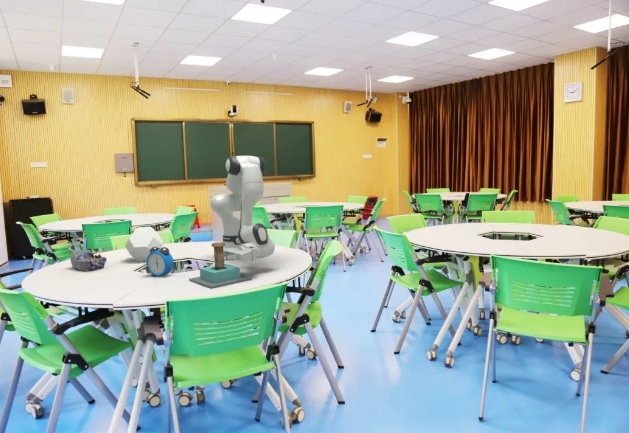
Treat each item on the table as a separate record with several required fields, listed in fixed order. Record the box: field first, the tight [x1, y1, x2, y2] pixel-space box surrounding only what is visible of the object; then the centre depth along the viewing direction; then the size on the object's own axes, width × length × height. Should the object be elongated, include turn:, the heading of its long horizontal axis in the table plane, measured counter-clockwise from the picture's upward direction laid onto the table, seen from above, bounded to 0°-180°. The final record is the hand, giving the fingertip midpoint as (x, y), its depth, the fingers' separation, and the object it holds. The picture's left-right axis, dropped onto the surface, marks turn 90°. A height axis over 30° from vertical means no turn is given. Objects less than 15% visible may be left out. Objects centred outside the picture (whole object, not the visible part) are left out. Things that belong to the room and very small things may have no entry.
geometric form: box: [124, 226, 165, 263], centre depth 276 cm, size 20×20×20 cm
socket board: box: [188, 263, 253, 290], centre depth 221 cm, size 22×22×6 cm
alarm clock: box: [146, 246, 175, 278], centre depth 235 cm, size 13×6×15 cm, turn 67°
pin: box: [211, 241, 225, 270], centre depth 220 cm, size 6×6×17 cm
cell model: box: [69, 249, 108, 272], centre depth 257 cm, size 13×11×20 cm
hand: (222, 256), depth 221 cm, fingers open, 8 cm apart
